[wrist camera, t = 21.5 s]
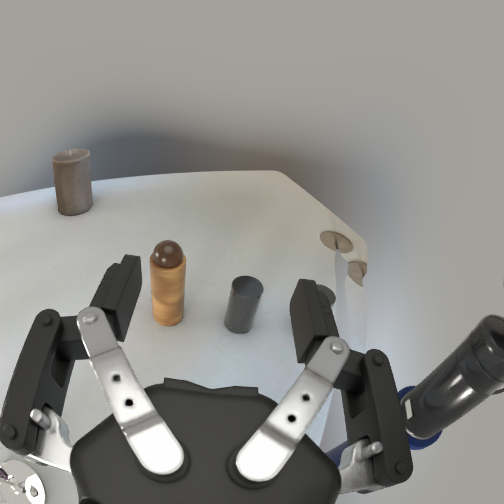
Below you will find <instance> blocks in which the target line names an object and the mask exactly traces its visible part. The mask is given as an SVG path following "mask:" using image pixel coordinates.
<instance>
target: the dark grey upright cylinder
mask: <svg viewBox="0 0 504 504" xmlns="http://www.w3.org/2000/svg"><path fill="white" fill-rule="evenodd" d="M316 286H317V289H318V291H323V292H324V294H325V295H326V296H327V298H328V299H329V302H330V306H331V308H332V306H333V305H334V303H335V300H336V297H335V294H334V293H333V291H332V290H330V289H329V288H328V287H326V286H323V285H316Z"/></svg>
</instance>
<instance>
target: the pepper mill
mask: <svg viewBox="0 0 504 504" xmlns="http://www.w3.org/2000/svg"><path fill="white" fill-rule="evenodd" d="M185 271H186V257H185V255H184V254H183V251H182V249H181V247H180V246H179V245H178V244H177V243H176V242H174V241H171V240H165V241H162V242H160V243H159V244H157V245H156V247H155V248H154V251H153V253H152V255H151V256H150V277H151V293H152V307H153V316H154V319H155V320H156V321H157V322H158V323H160V324H162V325H165V326H172V325H176V324H178V323H179V322H180V321H181V320H182V318H183V315H184V290H185Z"/></svg>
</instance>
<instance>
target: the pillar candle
mask: <svg viewBox="0 0 504 504" xmlns="http://www.w3.org/2000/svg"><path fill="white" fill-rule="evenodd" d="M53 173H54V183H55V189H56V198H57V203H58V211H59V212H60V213H61V214H63V215H78V214H81V213H84V212H86V211H87V210H89V209H90V208H91V206H92V204H93V202H92V189H91V174H90V152H89V151H88V150H85V149H72V150H67V151H63V152H60V153H58V154H56V155H55V156H54V157H53Z"/></svg>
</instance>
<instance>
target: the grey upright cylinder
mask: <svg viewBox="0 0 504 504" xmlns="http://www.w3.org/2000/svg"><path fill="white" fill-rule="evenodd" d="M262 294H263V285H262V284H261V282H260V281H259V280H257V279H256V278H253V277H250V276H240V277H237V278H235V279H234V280H233V282H232V286H231V291H230V296H229V301H228V306H227V311H226V316H225V325H226V327H227V328H228V329H229V330H230V331H232V332H234V333H238V334H243V333H246V332H248V331H250V330H251V328H252V325H253V322H254V319H255V316H256V313H257V310H258V306H259V303H260V300H261V297H262Z"/></svg>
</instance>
